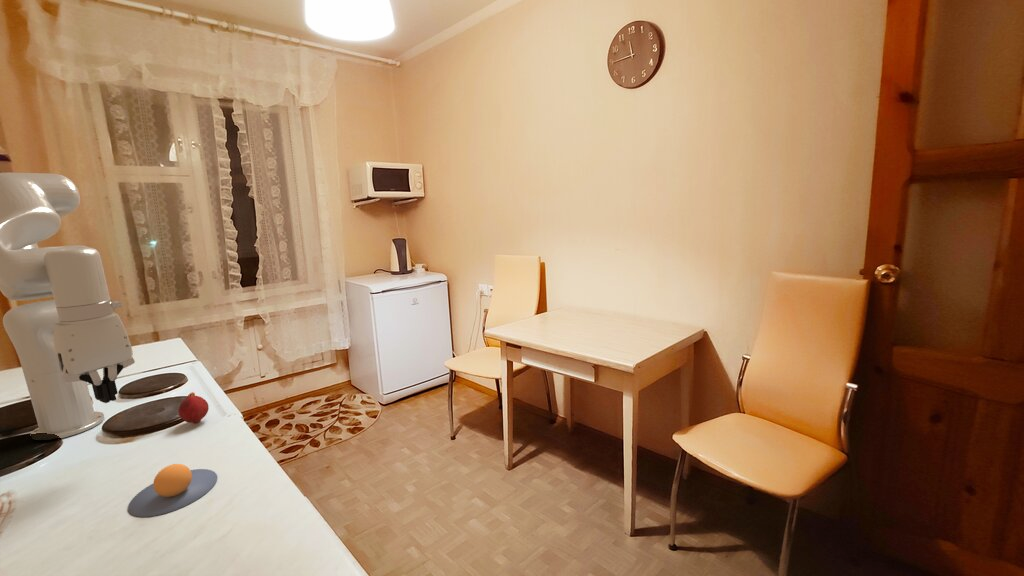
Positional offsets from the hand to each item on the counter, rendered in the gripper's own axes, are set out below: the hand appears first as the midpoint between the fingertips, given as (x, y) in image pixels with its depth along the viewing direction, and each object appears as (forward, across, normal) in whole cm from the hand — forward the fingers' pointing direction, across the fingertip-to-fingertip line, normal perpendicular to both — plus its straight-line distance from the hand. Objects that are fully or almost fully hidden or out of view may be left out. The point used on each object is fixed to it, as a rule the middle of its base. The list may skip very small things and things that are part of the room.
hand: (107, 400), depth 86 cm
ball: (+11, +1, +22) cm, 25 cm away
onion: (+14, -16, -4) cm, 22 cm away
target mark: (+14, 0, +21) cm, 25 cm away
